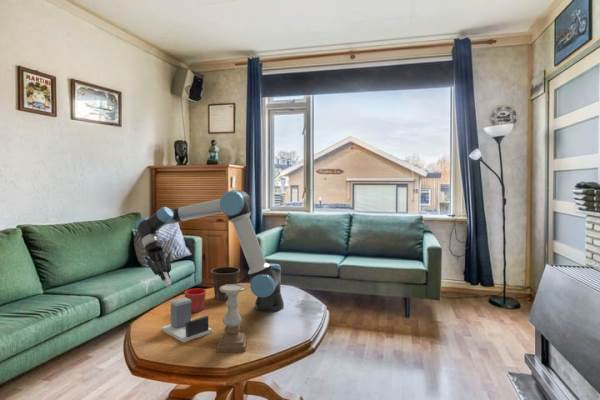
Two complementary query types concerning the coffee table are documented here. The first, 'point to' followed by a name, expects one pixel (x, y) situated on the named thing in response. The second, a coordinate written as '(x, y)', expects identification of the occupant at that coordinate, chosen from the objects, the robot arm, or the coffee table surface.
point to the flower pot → (196, 299)
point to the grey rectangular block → (180, 312)
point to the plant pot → (224, 280)
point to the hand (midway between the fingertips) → (168, 285)
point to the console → (189, 329)
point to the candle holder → (232, 322)
